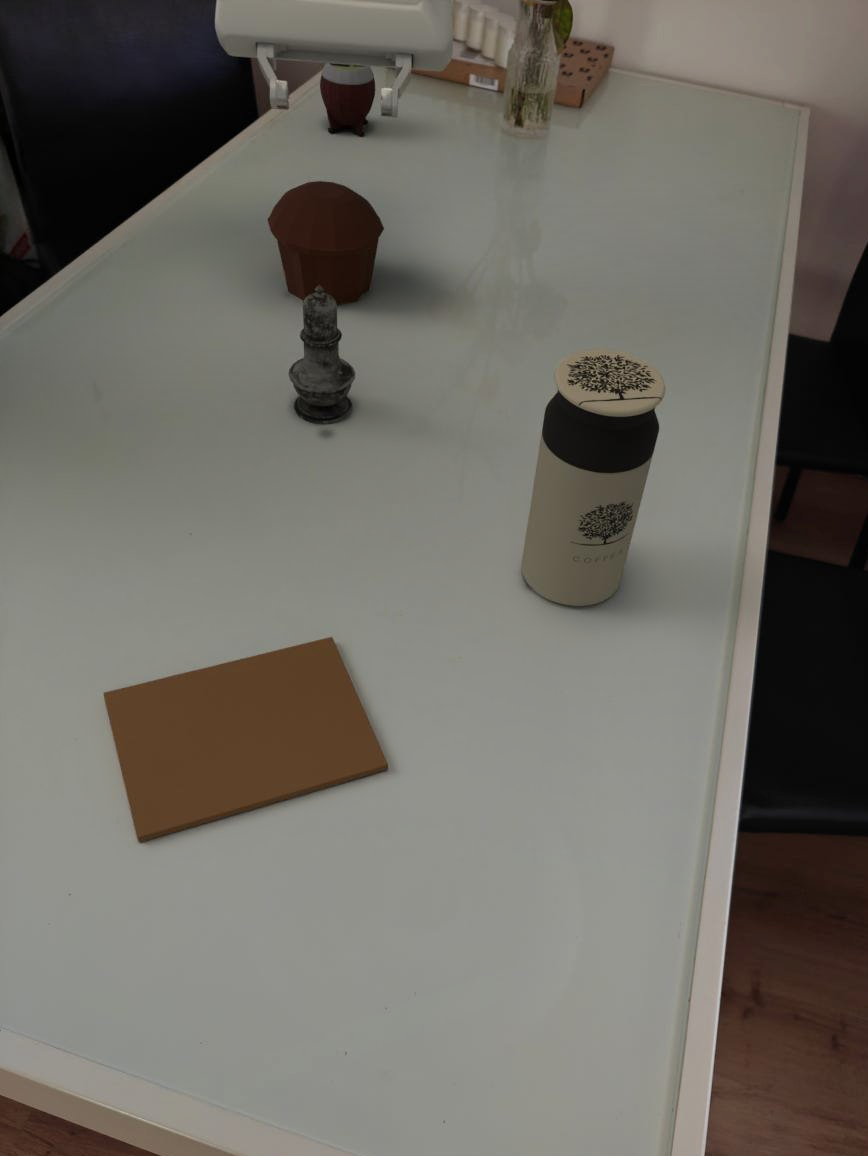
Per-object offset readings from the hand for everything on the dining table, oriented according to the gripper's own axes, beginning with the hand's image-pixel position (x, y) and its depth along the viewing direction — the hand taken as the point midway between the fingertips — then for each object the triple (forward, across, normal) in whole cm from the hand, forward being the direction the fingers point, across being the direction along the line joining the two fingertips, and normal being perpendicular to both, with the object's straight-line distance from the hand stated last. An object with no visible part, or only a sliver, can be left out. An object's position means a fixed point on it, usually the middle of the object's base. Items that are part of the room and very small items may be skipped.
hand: (334, 110), depth 89 cm
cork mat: (+51, -4, -22) cm, 56 cm away
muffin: (+9, -2, +20) cm, 22 cm away
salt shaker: (+25, -1, +4) cm, 25 cm away
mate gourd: (-20, -1, +50) cm, 54 cm away
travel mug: (+40, +20, -11) cm, 46 cm away
